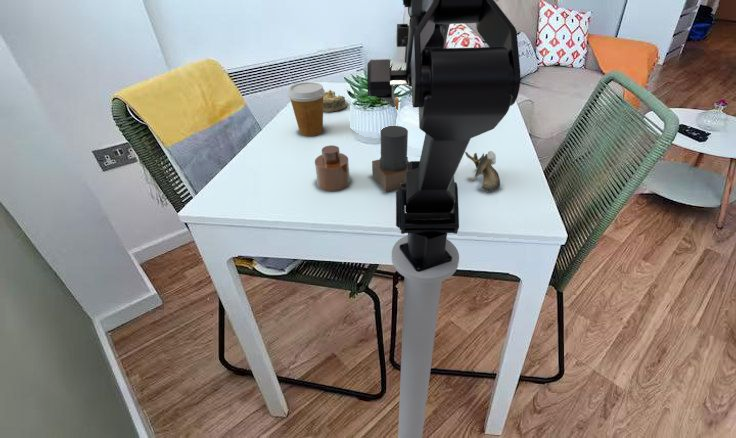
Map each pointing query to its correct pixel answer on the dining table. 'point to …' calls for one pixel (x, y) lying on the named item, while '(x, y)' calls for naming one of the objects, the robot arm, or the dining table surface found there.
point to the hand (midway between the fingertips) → (417, 104)
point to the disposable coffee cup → (308, 107)
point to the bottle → (332, 169)
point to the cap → (394, 148)
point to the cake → (333, 102)
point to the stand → (388, 177)
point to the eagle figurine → (486, 171)
